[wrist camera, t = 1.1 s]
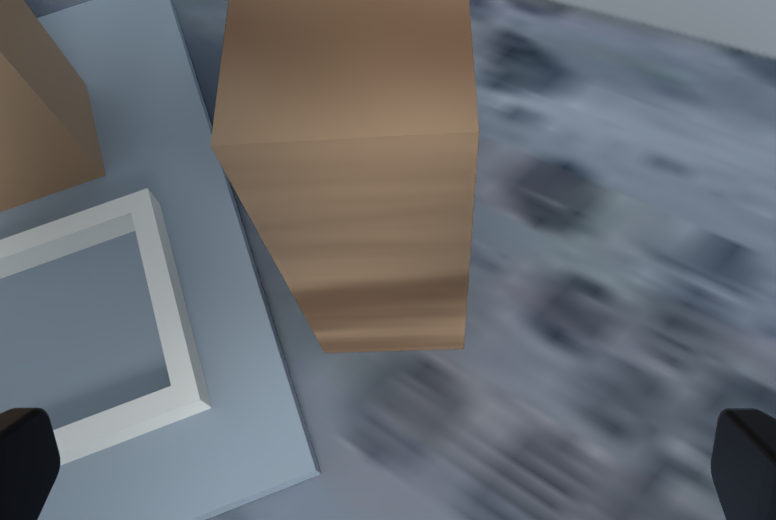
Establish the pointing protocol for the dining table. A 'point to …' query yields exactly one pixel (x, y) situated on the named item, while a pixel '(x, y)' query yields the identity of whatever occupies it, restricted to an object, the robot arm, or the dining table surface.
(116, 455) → the baseplate
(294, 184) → the walnut pillar
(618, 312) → the dining table surface
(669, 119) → the dining table surface
